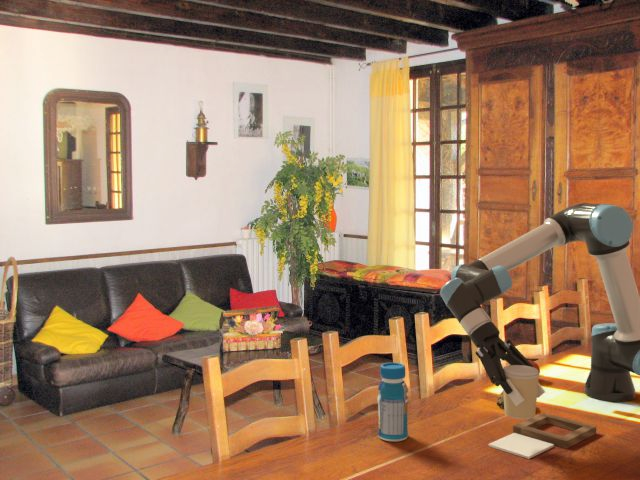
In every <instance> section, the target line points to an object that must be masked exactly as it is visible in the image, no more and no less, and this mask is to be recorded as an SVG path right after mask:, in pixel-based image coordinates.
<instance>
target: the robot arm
mask: <svg viewBox="0 0 640 480" xmlns="http://www.w3.org/2000/svg"><path fill="white" fill-rule="evenodd" d="M630 215H631V214H630V213H628V211H626V209H624V208H623V207H621V206H618V205H614V204H610V203H590V202H582V203H576V204H574V205H570V206H569V207H566V208H564V209H561V210H560V211H558V212H556V213H554V214H552V215H551V216H548V217H547V218H545V219H544V221H543V223H542V224H541V225H539V226H538V227H535V228H533V229H531V230H530V231H528V232H526V233H525V234H523V235H521V236H519V237H517V238H515V239H514V240H512V241H509V242H508V243H506V244H503V245H502V246H501V247H498V248H497V249H495V250H493V251H492V252H490V253H487V254H486V255H484V256H481V257H480V258H478V259H476V260H474V261H473V262H470V263H468V264H467V263H464V264H463V263H462V264H461V263H460V264H459V265H456V266H455V267H454V268H453V270H452V271H451V273H450V274H451V276H450V278H451V279H450V280H449V281H447V282H446V283H444V285H443V286H441V289H440V291H439V296H440V297H441V298H442V300H443V302H444V304H445V306H446V307H447V308H448V310H450V312H451V313H452V315H453V316H454V317H455V319H456V320H457V322H458V323H459V325H461V327H462V329H463V330H464V331H465V333H466V334H467V336H469V339H470V340H471V341H472V343H473V344H474V346H475V347H476V348H478V349H477V350H476V351H475V356H477V357H478V359H479V361H480V362H481V364H482V367H483V368H484V370H485V372H486V374H487V376H488V378H489V380H490V382H491V383H492V384H493V385H495V386H496V387H499V386H501V389H502V391H503V390H504V391H505V392H506V393H507V394H508V396H509V397H510V399H511V400H512V401H513V403H514V404H515V406H518V405H519V404H520V403H521V402H523V401H524V399H523V397H522V396H521V395H520V393H519V392H518V390H517V389H516V388H515V386H514V385H513V383H512V382H511V381H510V379H507V380H506V377H505V373H504V370H503V368H504V367H503V363H502V361H505V362H506V363H508V364H509V366H510V365H524V366H530V367H533V365H532V364H531V363H530V362H529V361H528V360H529V359H528V358H527V357H526V356H524V354H523V353H522V352H521V351H520V350H519V349H518V348H517V347H516V346H515V345H514V343H513V342H512V340H511V339H509V338H508V339H506V341H504V340H503V339H502V338H500V329H498V328H497V326H496V324H495V323H494V322H493V321H492V319H491V317H490V316H489V315H488V313H487V312H486V311H485V310H484V308H483V307H482V305H483V304H485V303H487V302H490V301H491V300H493V299H495V298H497V297H498V296H500V295H501V296H502V295H503V294H504V293H506V292H508V290H510V289H511V288H512V286H513V278H512V277H511V274H510V273H509V272H510V271H512V270H513V269H515V268H517V267H519V266H522V265H523V264H525V263H527V262H529V261H530V260H532V259H534V258H536V257H538V256H539V255H541V254H544V253H546V252H547V251H548V250H551V249H552V248H554V247H563V246H565V245H566V244H569V243H574V242H584V243H585V245H586V248H587V251H588V254H589V256H591V257H593V258H595V259H596V263H597V266H598V270H599V272H600V276H601V279H602V282H603V286H604V289H605V292H606V296H607V300H608V303H609V306H610V310H611V313H612V316H613V319H614V323H613V322H610V323H608V322H607V323H605V322H604V323H598V324H594V325H593V326H592V328H591V334H590V339H591V342H590V343H591V344H590V346H591V348H590V370H589V373H588V376H587V379H586V381H585V384H584V394H585V396H588V397H591V398H592V399H597V400H602V401H606V402H607V401H608V402H627V401H628V402H629V401H632V400H634V399H635V397H636V389H635V385H634V382H633V379H632V375H631V373H633V374H636V375H637V376H640V293H639V290H638V286H637V283H636V280H635V275H634V272H633V269H632V265H631V263H630V259H629V256H628V253H627V250H628V248H629V247H630V246H631V244H630V239H631V237H632V233H633V232H634V224H633V219H632V217H631V216H630ZM527 359H528V360H527ZM545 393H546V391H545V389H544V387H543V386H542V385H541V384H540V382H539V381H538V390H537V399H538V398H540V397H541V396H543V395H544V394H545Z"/></svg>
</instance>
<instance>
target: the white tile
mask: <svg viewBox="0 0 640 480" xmlns="http://www.w3.org/2000/svg"><path fill="white" fill-rule="evenodd" d="M488 447H490V448H492V449H497V450H499V451H503V452H506V453H509V454H512V455H516V456H518V457H522V458H524V459H527V460H529V459H531V458H534V457H535V456H538V455H540V454H541V453H544V452H545V451H548V450H551V448H552V449H553V448H554V447H555V445H554V444H551V443H547V442H544V441H541V440H537V439H534V438H530V437H527V436H524V435H520V434H517V433H513V432H512V433H510V434H508V435H505V436H503V437H501V438H499V439H496V440H495V441H492V442H489V443H488Z"/></svg>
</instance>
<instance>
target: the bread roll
mask: <svg viewBox="0 0 640 480" xmlns="http://www.w3.org/2000/svg"><path fill="white" fill-rule="evenodd" d="M496 398H497V402H496V406H498V407H499V408H500V409H502V410H504V393H503V390H502V391H501V393H500V394H499V395H497V396H496Z"/></svg>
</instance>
